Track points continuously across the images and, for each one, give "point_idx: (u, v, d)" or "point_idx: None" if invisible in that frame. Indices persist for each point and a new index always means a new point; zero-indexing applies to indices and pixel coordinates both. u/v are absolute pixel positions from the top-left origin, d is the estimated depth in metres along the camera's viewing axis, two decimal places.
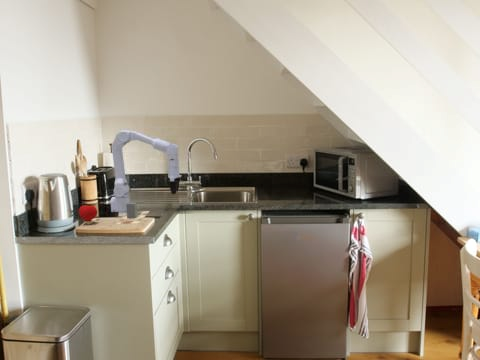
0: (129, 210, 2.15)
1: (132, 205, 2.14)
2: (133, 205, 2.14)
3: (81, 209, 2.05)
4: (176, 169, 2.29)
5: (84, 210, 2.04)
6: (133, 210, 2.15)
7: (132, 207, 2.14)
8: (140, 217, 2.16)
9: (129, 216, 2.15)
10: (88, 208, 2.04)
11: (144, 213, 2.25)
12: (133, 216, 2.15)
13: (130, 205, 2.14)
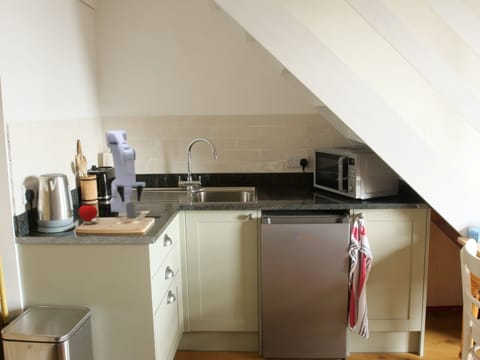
0: (129, 210, 2.15)
1: (132, 205, 2.14)
2: (133, 205, 2.14)
3: (81, 209, 2.05)
4: (124, 176, 2.12)
5: (84, 210, 2.04)
6: (133, 210, 2.15)
7: (132, 207, 2.14)
8: (140, 217, 2.16)
9: (129, 216, 2.15)
10: (88, 208, 2.04)
11: (144, 213, 2.25)
12: (133, 216, 2.15)
13: (130, 205, 2.14)
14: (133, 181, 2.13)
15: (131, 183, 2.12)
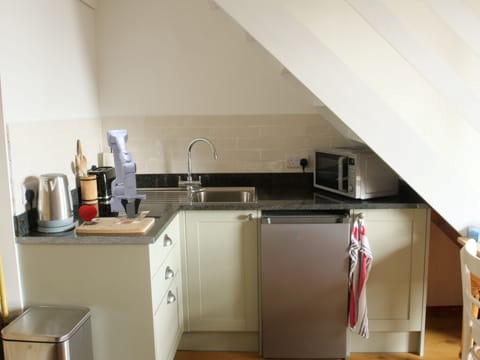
0: (129, 210, 2.15)
1: (132, 205, 2.14)
2: (133, 205, 2.14)
3: (81, 209, 2.05)
4: (124, 189, 2.13)
5: (84, 210, 2.04)
6: (133, 210, 2.15)
7: (132, 207, 2.14)
8: (140, 217, 2.16)
9: (129, 216, 2.15)
10: (88, 208, 2.04)
11: (144, 213, 2.25)
12: (133, 216, 2.15)
13: (130, 205, 2.14)
14: (134, 194, 2.14)
15: (132, 196, 2.13)
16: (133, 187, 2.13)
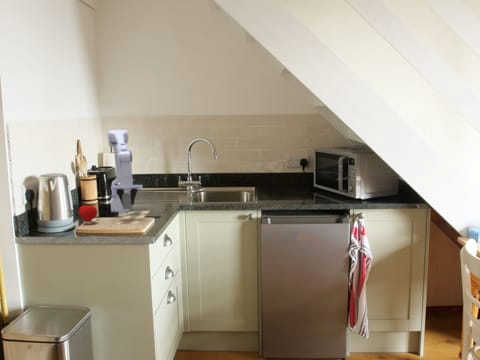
0: (125, 201, 2.08)
1: (128, 195, 2.08)
2: (129, 195, 2.08)
3: (81, 209, 2.05)
4: (120, 179, 2.07)
5: (84, 210, 2.04)
6: (129, 201, 2.08)
7: (128, 197, 2.08)
8: (140, 217, 2.16)
9: (125, 207, 2.08)
10: (88, 208, 2.04)
11: (144, 213, 2.25)
12: (129, 207, 2.08)
13: (126, 195, 2.08)
14: (130, 184, 2.07)
15: (128, 186, 2.06)
16: (129, 177, 2.06)
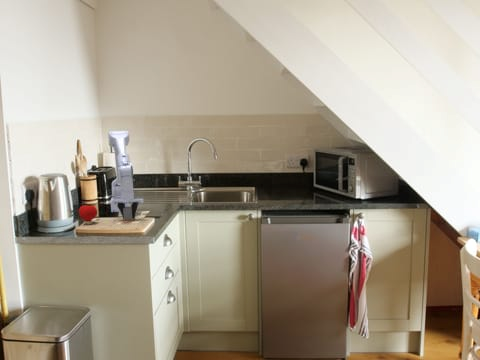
0: (126, 214, 2.09)
1: (129, 209, 2.09)
2: (130, 209, 2.09)
3: (81, 209, 2.05)
4: (121, 193, 2.08)
5: (84, 210, 2.04)
6: (130, 214, 2.09)
7: (129, 211, 2.09)
8: (140, 217, 2.16)
9: None
10: (88, 208, 2.04)
11: (144, 213, 2.25)
12: None
13: (127, 209, 2.09)
14: (131, 198, 2.08)
15: (129, 200, 2.07)
16: (130, 191, 2.07)
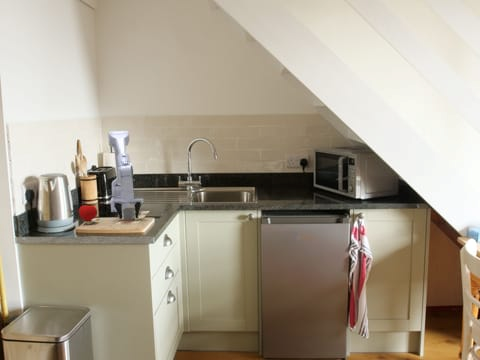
0: (126, 216, 2.09)
1: (129, 211, 2.09)
2: (130, 211, 2.09)
3: (81, 209, 2.05)
4: (121, 193, 2.08)
5: (84, 210, 2.04)
6: (130, 216, 2.09)
7: (129, 213, 2.09)
8: (140, 217, 2.16)
9: None
10: (88, 208, 2.04)
11: (144, 213, 2.25)
12: None
13: (127, 211, 2.09)
14: (131, 198, 2.08)
15: (129, 200, 2.07)
16: (130, 191, 2.07)
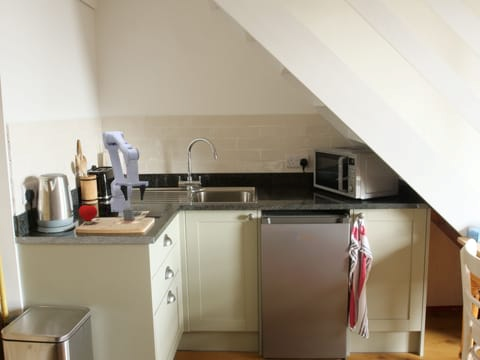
0: (126, 216, 2.09)
1: (129, 211, 2.09)
2: (130, 211, 2.09)
3: (81, 209, 2.05)
4: (127, 176, 2.16)
5: (84, 210, 2.04)
6: (130, 216, 2.09)
7: (129, 213, 2.09)
8: (140, 217, 2.16)
9: None
10: (88, 208, 2.04)
11: (144, 213, 2.25)
12: None
13: (127, 211, 2.09)
14: (136, 180, 2.16)
15: (134, 182, 2.15)
16: (135, 173, 2.15)
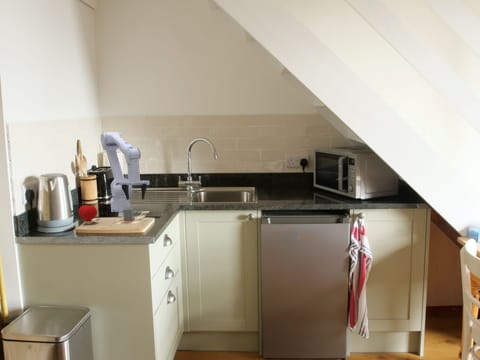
0: (126, 216, 2.09)
1: (129, 211, 2.09)
2: (130, 211, 2.09)
3: (81, 209, 2.05)
4: (128, 175, 2.17)
5: (84, 210, 2.04)
6: (130, 216, 2.09)
7: (129, 213, 2.09)
8: (140, 217, 2.16)
9: None
10: (88, 208, 2.04)
11: (144, 213, 2.25)
12: None
13: (127, 211, 2.09)
14: (137, 179, 2.18)
15: (136, 181, 2.17)
16: (137, 173, 2.17)
